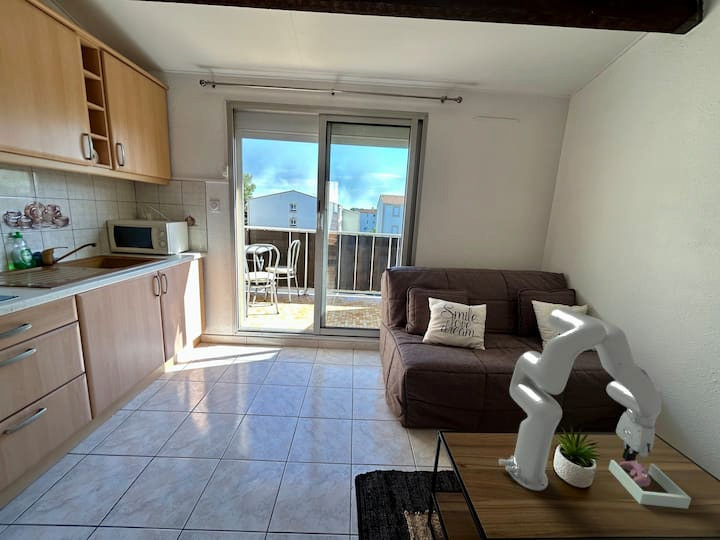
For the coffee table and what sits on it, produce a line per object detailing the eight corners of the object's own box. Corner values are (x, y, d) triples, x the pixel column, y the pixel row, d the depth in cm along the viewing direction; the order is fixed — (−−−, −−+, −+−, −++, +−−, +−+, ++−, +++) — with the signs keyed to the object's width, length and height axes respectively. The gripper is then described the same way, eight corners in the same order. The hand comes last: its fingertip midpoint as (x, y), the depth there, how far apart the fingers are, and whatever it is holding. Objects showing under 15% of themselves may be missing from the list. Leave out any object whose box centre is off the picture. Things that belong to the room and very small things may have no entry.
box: (639, 503, 95) (642, 493, 94) (608, 468, 107) (611, 459, 106) (687, 508, 94) (691, 498, 93) (650, 473, 107) (653, 463, 106)
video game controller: (639, 495, 99) (657, 484, 97) (625, 484, 101) (642, 473, 98) (629, 472, 108) (644, 462, 105) (616, 463, 109) (631, 452, 107)
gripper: (613, 402, 112) (602, 443, 116) (649, 431, 97) (635, 477, 101) (633, 403, 112) (621, 444, 116) (672, 433, 97) (657, 478, 101)
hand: (628, 459), depth 108 cm, fingers closed
